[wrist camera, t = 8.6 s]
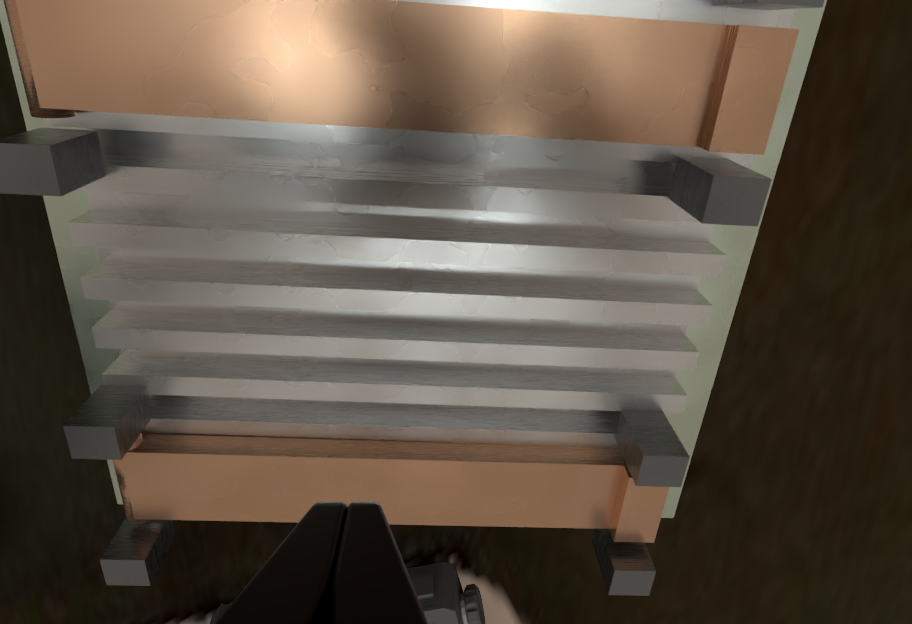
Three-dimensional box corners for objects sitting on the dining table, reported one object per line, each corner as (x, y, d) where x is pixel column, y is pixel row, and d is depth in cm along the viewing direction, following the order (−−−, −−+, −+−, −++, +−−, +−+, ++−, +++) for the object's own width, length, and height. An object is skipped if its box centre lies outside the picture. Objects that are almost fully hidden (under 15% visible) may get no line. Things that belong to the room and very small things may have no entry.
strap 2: (134, 503, 18) (112, 537, 16) (116, 427, 16) (92, 458, 15) (638, 514, 19) (652, 547, 17) (657, 443, 17) (673, 473, 16)
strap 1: (45, 111, 13) (6, 120, 12) (11, -38, 12) (-36, -45, 10) (733, 152, 14) (761, 164, 13) (768, 18, 13) (802, 18, 11)
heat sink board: (124, 493, 23) (19, 651, 17) (-43, -225, 14) (-400, -412, 8) (668, 506, 25) (742, 660, 19) (856, -145, 15) (1127, -254, 9)
